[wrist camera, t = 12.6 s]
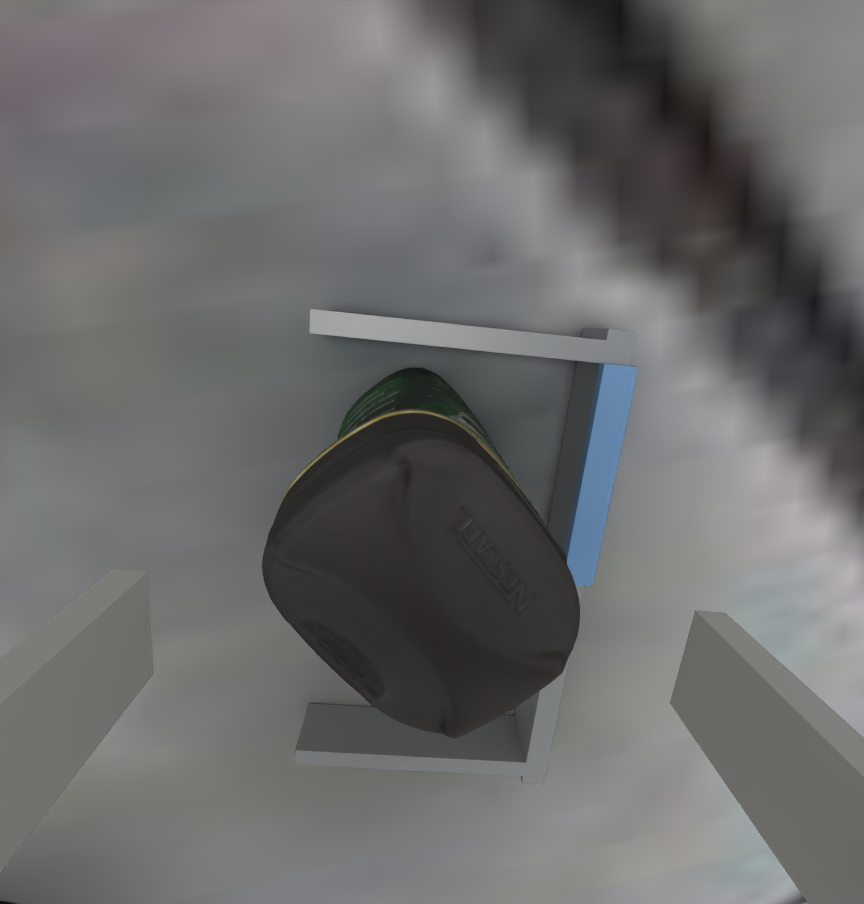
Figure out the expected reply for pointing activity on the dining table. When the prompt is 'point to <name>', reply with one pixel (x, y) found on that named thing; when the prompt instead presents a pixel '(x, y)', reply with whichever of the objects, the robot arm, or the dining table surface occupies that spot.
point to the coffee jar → (422, 563)
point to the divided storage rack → (570, 523)
